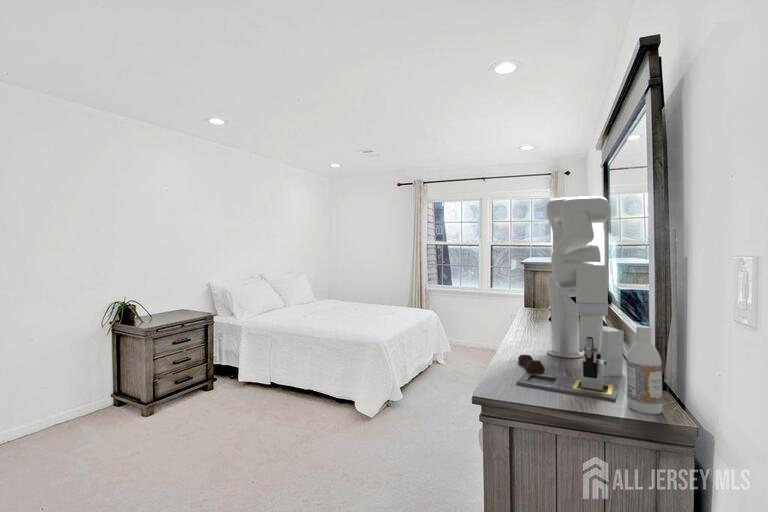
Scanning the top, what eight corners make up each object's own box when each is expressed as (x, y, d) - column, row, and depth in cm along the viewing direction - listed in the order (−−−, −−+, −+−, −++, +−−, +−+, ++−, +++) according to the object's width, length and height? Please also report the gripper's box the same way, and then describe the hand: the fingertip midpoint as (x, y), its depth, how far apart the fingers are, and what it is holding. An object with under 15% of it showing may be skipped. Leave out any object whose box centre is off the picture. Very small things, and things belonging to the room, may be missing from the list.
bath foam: (645, 416, 88) (644, 329, 89) (620, 405, 95) (619, 324, 95) (669, 413, 90) (668, 328, 90) (643, 403, 97) (642, 323, 97)
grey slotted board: (527, 377, 119) (527, 370, 119) (618, 391, 105) (618, 384, 105) (516, 388, 109) (516, 381, 109) (615, 405, 95) (615, 397, 95)
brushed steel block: (583, 386, 107) (583, 356, 107) (604, 389, 104) (603, 358, 104) (581, 391, 103) (580, 360, 103) (602, 395, 100) (602, 363, 100)
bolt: (525, 369, 133) (538, 382, 118) (512, 362, 134) (523, 373, 119) (533, 355, 133) (547, 365, 118) (520, 347, 134) (533, 357, 119)
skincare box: (587, 372, 123) (587, 325, 123) (604, 371, 124) (603, 325, 124) (607, 380, 115) (606, 330, 115) (625, 379, 116) (624, 329, 116)
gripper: (580, 304, 113) (581, 362, 113) (571, 312, 98) (572, 378, 98) (610, 306, 109) (610, 366, 109) (605, 314, 94) (605, 384, 94)
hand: (592, 372), depth 103 cm, fingers open, 9 cm apart
